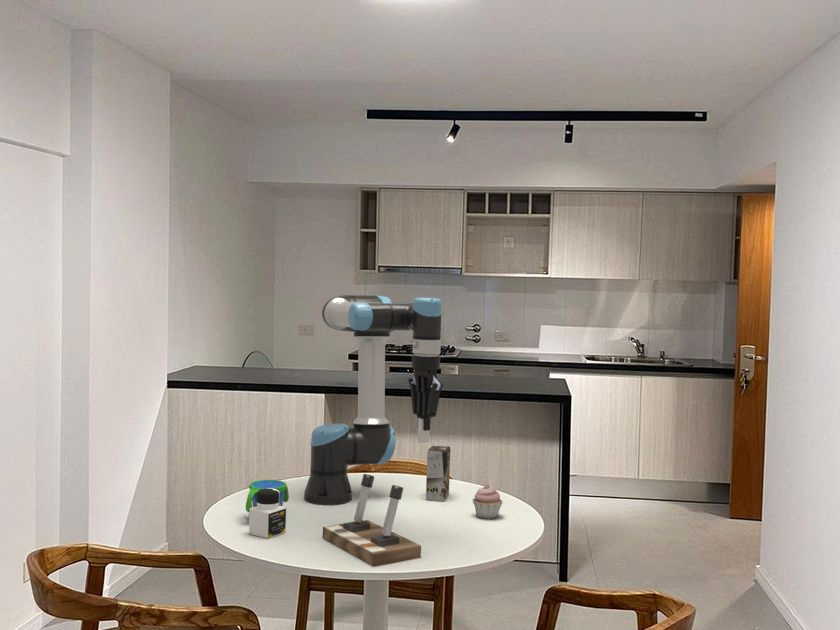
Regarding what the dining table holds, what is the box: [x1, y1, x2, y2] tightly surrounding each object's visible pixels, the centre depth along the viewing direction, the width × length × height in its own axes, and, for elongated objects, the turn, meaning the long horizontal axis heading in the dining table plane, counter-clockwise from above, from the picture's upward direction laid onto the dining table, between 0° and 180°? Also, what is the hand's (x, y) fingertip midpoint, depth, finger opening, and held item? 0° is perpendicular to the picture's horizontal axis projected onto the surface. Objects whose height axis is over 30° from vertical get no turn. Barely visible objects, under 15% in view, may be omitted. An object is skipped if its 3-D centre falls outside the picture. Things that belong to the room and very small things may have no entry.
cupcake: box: [471, 483, 504, 520], centre depth 255 cm, size 9×9×10 cm
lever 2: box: [382, 484, 404, 536], centre depth 217 cm, size 3×3×12 cm
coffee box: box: [425, 445, 451, 502], centre depth 275 cm, size 9×6×16 cm
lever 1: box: [353, 473, 375, 522], centre depth 228 cm, size 3×3×12 cm
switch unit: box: [322, 519, 422, 567], centre depth 222 cm, size 26×14×4 cm, turn 35°
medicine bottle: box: [248, 488, 287, 539], centre depth 231 cm, size 7×7×12 cm
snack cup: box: [245, 479, 290, 514], centre depth 245 cm, size 16×10×10 cm
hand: (423, 441), depth 230 cm, fingers closed
